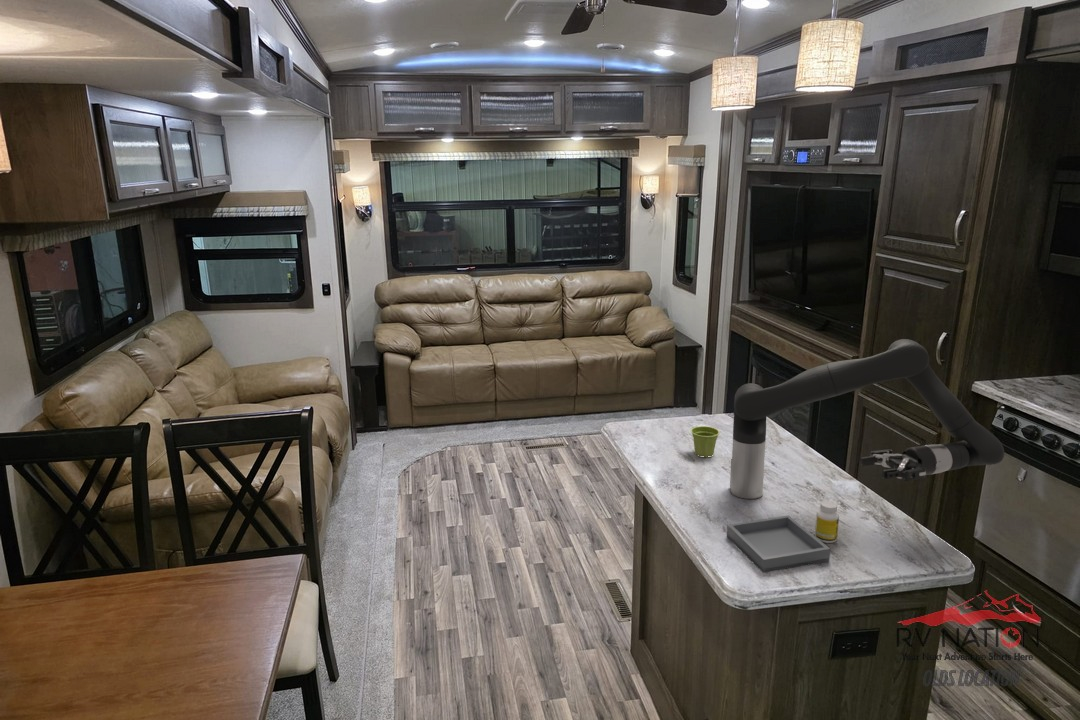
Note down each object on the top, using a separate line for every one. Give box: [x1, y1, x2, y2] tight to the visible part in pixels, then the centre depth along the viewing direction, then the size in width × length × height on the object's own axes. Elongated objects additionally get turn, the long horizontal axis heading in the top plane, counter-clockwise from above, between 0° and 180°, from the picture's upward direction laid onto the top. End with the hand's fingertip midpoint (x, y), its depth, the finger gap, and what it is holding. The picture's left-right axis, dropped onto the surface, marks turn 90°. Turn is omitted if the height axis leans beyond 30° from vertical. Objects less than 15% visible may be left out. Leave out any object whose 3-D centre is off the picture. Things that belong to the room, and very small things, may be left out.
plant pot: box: [690, 425, 720, 458], centre depth 236 cm, size 9×9×9 cm
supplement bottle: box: [814, 500, 840, 544], centre depth 180 cm, size 5×5×10 cm
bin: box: [726, 514, 831, 573], centre depth 177 cm, size 18×18×4 cm
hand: (871, 468), depth 179 cm, fingers open, 8 cm apart
